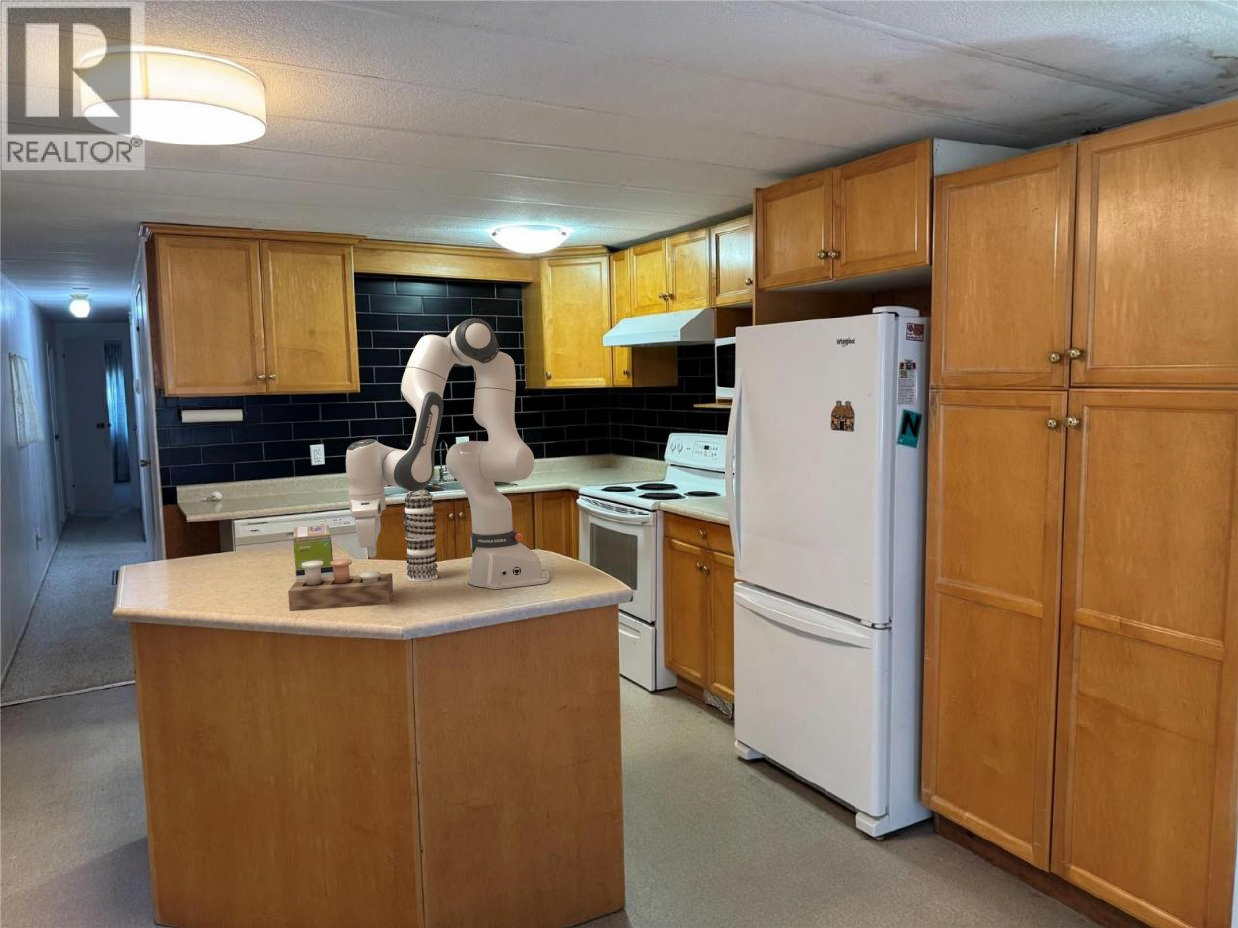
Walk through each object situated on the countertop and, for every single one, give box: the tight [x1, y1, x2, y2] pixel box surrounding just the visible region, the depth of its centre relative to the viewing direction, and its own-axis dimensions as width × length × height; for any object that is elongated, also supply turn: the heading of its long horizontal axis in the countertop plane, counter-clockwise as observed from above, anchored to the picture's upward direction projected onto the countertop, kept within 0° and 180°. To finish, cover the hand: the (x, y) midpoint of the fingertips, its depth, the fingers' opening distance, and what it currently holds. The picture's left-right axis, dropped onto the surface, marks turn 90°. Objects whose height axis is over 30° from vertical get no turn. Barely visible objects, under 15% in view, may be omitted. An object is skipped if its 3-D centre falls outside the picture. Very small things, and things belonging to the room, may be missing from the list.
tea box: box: [292, 524, 334, 582], centre depth 236 cm, size 15×10×15 cm, turn 21°
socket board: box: [287, 572, 394, 611], centre depth 215 cm, size 24×12×5 cm, turn 100°
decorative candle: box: [402, 489, 439, 583], centre depth 236 cm, size 9×9×25 cm
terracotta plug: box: [330, 558, 353, 583], centre depth 215 cm, size 5×5×5 cm
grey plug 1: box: [302, 561, 323, 585], centre depth 213 cm, size 5×5×5 cm
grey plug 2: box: [358, 570, 381, 583], centre depth 216 cm, size 5×5×5 cm
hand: (372, 556), depth 216 cm, fingers closed
